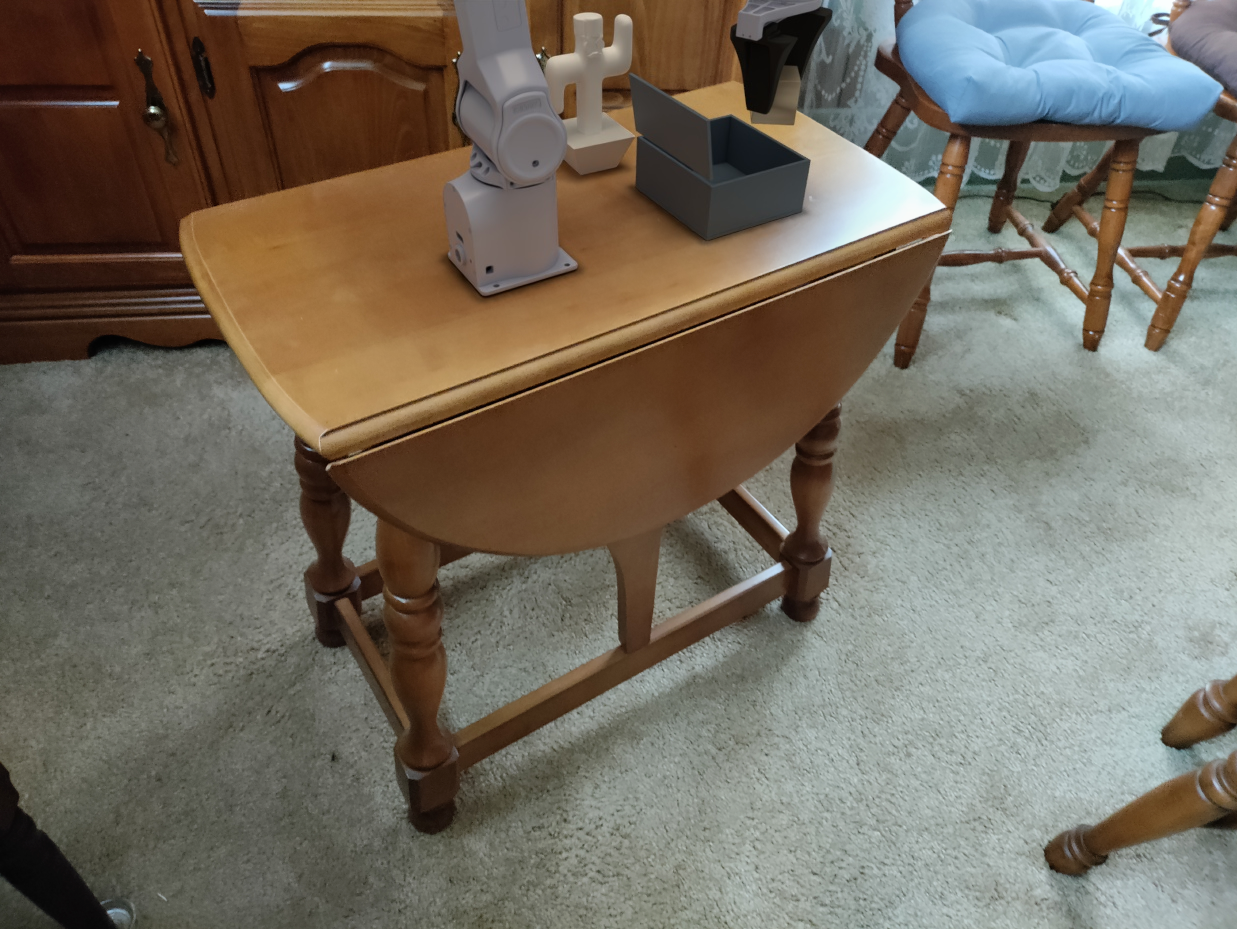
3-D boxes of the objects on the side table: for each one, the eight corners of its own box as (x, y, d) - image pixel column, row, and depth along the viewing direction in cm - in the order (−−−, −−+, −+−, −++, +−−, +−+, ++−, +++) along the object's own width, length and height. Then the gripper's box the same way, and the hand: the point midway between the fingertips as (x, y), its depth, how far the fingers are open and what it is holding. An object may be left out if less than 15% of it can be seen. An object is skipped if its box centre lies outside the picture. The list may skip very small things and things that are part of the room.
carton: (706, 240, 82) (711, 187, 78) (635, 187, 90) (636, 136, 86) (801, 211, 87) (811, 159, 83) (726, 163, 94) (731, 113, 91)
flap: (713, 179, 78) (710, 181, 78) (638, 129, 86) (635, 130, 86) (710, 119, 74) (706, 120, 74) (631, 72, 81) (628, 73, 81)
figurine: (536, 158, 94) (528, 10, 84) (612, 142, 98) (613, -3, 87) (565, 185, 90) (560, 32, 80) (643, 167, 93) (649, 18, 83)
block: (790, 109, 83) (797, 65, 80) (794, 125, 80) (801, 81, 77) (749, 107, 83) (754, 63, 80) (750, 124, 80) (756, 79, 77)
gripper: (787, -89, 77) (767, 69, 86) (710, -56, 68) (696, 116, 77) (862, -78, 74) (832, 84, 84) (792, -42, 65) (767, 134, 75)
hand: (772, 100), depth 80 cm, fingers closed on block, 5 cm apart
